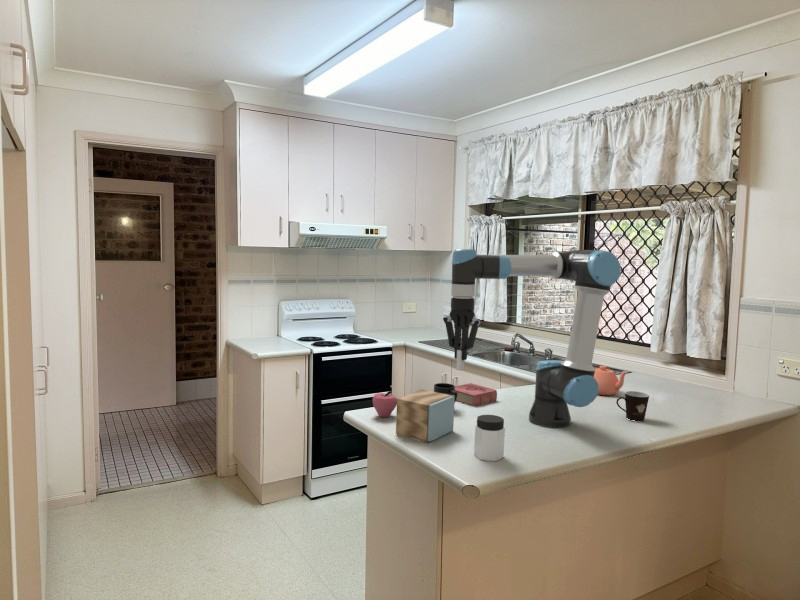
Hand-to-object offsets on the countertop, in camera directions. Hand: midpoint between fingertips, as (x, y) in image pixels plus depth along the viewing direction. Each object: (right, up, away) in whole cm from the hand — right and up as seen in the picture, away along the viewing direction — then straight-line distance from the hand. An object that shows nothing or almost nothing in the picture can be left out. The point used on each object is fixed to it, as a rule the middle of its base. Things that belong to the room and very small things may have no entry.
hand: (460, 369), depth 182 cm
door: (-6, -23, +7) cm, 25 cm away
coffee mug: (+70, -24, +34) cm, 81 cm away
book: (+11, -20, +54) cm, 59 cm away
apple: (-25, -21, +27) cm, 43 cm away
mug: (-2, -21, +38) cm, 43 cm away
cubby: (-12, -23, +11) cm, 28 cm away
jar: (+8, -26, -9) cm, 29 cm away
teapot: (+73, -20, +73) cm, 105 cm away
